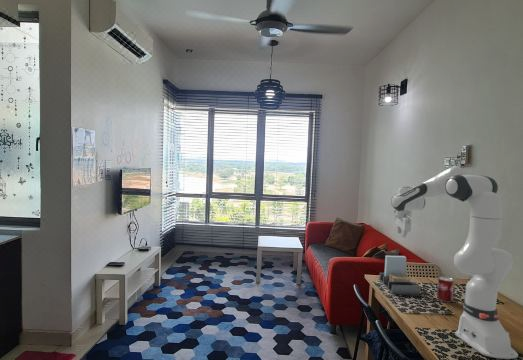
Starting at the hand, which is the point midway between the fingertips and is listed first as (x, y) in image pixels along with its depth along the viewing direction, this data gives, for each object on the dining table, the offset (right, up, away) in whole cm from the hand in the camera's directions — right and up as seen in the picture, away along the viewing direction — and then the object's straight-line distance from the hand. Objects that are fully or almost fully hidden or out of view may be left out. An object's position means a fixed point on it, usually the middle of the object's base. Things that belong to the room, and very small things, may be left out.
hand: (401, 235), depth 187 cm
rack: (-3, -31, -1) cm, 31 cm away
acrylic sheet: (-2, -30, +5) cm, 30 cm away
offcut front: (-3, -30, -4) cm, 31 cm away
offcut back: (-3, -30, 0) cm, 30 cm away
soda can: (+16, -33, -17) cm, 40 cm away
